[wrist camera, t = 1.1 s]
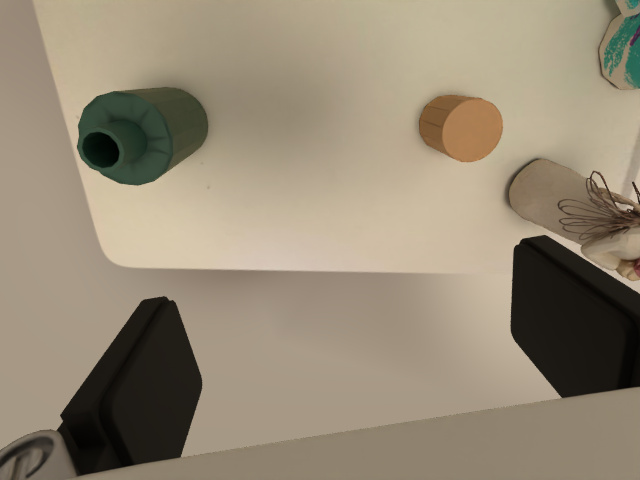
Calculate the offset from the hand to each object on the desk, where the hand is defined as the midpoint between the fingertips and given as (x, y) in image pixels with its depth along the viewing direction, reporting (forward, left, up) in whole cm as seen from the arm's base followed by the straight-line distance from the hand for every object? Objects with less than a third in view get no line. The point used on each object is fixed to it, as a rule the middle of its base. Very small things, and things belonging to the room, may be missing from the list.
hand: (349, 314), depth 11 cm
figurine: (+19, +17, -33) cm, 42 cm away
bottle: (-10, -10, -33) cm, 35 cm away
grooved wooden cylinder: (+7, +12, -33) cm, 35 cm away
